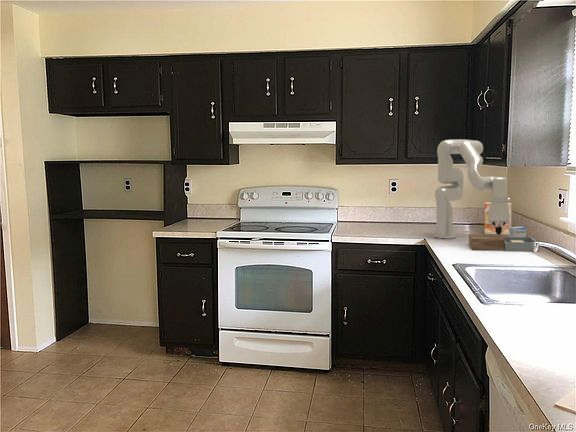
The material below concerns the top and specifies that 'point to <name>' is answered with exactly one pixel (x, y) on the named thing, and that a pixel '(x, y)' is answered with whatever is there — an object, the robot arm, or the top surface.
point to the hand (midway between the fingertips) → (498, 234)
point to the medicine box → (517, 231)
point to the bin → (519, 244)
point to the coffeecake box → (491, 228)
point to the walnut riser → (486, 242)
